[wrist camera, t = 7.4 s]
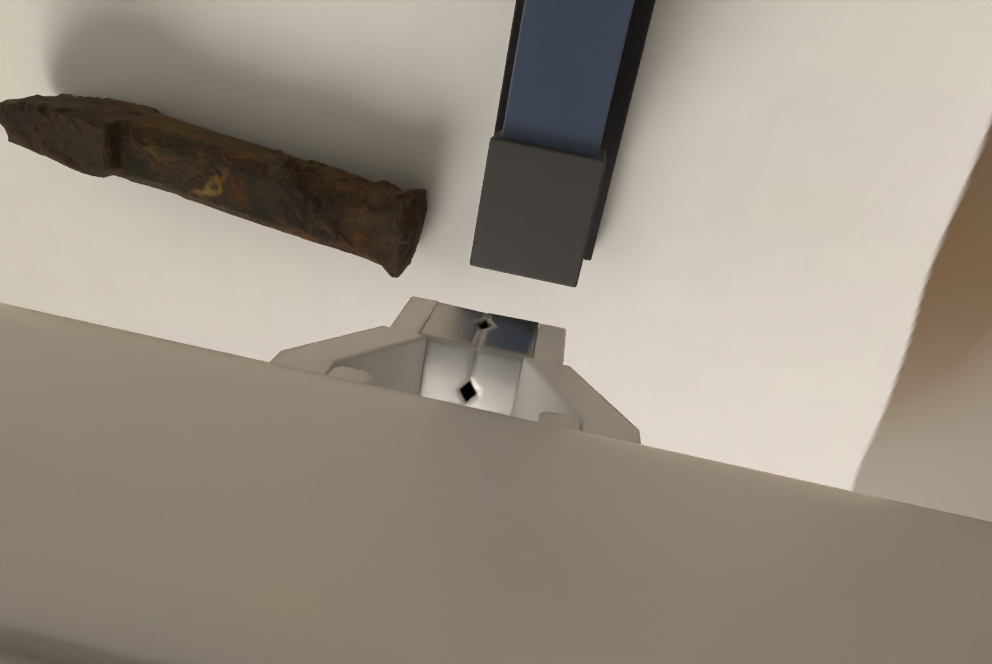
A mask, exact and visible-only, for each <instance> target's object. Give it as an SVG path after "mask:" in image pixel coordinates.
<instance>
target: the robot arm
mask: <svg viewBox="0 0 992 664" xmlns="http://www.w3.org/2000/svg"><path fill="white" fill-rule="evenodd" d="M538 325H539V327H538ZM565 336H566V329H565V328H560V327H555V326H550V325H544V324H539V323H538V322H532V321H527V320H522V319H517V318H511V317H506V316H501V315H496V314H491V313H488V314H487V313H483V312H478V311H474V310H470V309H465V308H461V307H457V306H452V305H448V304H444V303H439V302H438V301H435V300H429V299H424V298H419V297H411V298H410V300H409V301H408V303H407V304H406V305H405V307H404V308H403V310H402V311H401V313H400V314H399V315H398V317H397V318H396V320H395V321H394V322H393V324H392V325H391V327H386V326H380V327H376V328H372V329H368V330H364V331H360V332H356V333H352V334H348V335H344V336H339V337H335V338H331V339H327V340H323V341H319V342H315V343H311V344H307V345H303V346H299V347H294V348H290V349H286V350H282V351H280V352H279V353H278V354H277V355H276V356H275V357H274V358H273V359H272V360H271V361H270V362H265V361H261V360H256V359H251V358H247V357H242V356H238V355H233V354H229V353H224V352H220V351H215V350H211V349H206V348H202V347H197V346H193V345H188V344H184V343H179V342H175V341H170V340H166V339H161V338H157V337H152V336H148V335H143V334H139V333H134V332H130V331H125V330H121V329H116V328H112V327H107V326H103V325H98V324H94V323H89V322H85V321H80V320H76V319H71V318H67V317H62V316H58V315H53V314H49V313H44V312H40V311H35V310H31V309H26V308H22V307H17V306H13V305H8V304H4V303H0V664H992V522H987V521H983V520H979V519H974V518H970V517H965V516H960V515H956V514H951V513H947V512H942V511H938V510H934V509H929V508H924V507H920V506H916V505H911V504H906V503H902V502H897V501H893V500H889V499H884V498H880V497H875V496H871V495H866V494H861V493H857V492H852V491H848V490H843V489H839V488H834V487H830V486H825V485H821V484H816V483H812V482H807V481H803V480H798V479H794V478H789V477H785V476H780V475H776V474H771V473H767V472H762V471H758V470H753V469H749V468H744V467H740V466H735V465H731V464H726V463H722V462H717V461H713V460H708V459H704V458H699V457H695V456H690V455H686V454H681V453H676V452H672V451H667V450H663V449H658V448H654V447H649V446H645V445H641V441H640V433H639V430H638V429H637V428H636V427H635V426H634V425H633V424H632V423H631V422H630V421H629V420H628V419H626V418H625V417H624V416H623V415H622V414H621V413H620V412H619V411H618V410H617V409H616V408H615V407H613V406H612V405H611V404H610V403H609V402H608V401H607V400H606V399H605V398H604V397H603V396H601V395H600V394H599V393H598V392H597V391H596V390H595V389H594V388H593V387H592V386H591V385H589V384H588V383H587V382H586V381H585V380H584V379H583V378H582V377H581V376H580V375H579V374H578V373H576V372H575V371H574V370H573V369H572V368H571V367H570V366H566V365H563V359H564V348H565Z"/></svg>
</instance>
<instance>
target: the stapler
mask: <svg viewBox="0 0 992 664" xmlns="http://www.w3.org/2000/svg"><path fill="white" fill-rule="evenodd" d="M524 2H525V0H516V5H515V11H514V17H513V23H512V29H511V35H510V41H509V47H508V53H507V59H506V65H505V71H504V77H503V83H502V90H501V96H500V102H499V108H498V114H497V120H496V126H495V132H494V135H495V134H496V133H498V132H499V131H500V130H503V124H504V119H505V113H506V107H507V101H508V95H509V89H510V83H511V78H512V72H513V66H514V60H515V54H516V48H517V43H518V37H519V31H520V25H521V19H522V13H523V7H524ZM654 4H655V0H634V5H633V9H632V13H631V17H630V22H629V26H628V30H627V34H626V39H625V43H624V47H623V51H622V56H621V60H620V64H619V68H618V73H617V77H616V81H615V85H614V90H613V94H612V98H611V102H610V107H609V111H608V115H607V119H606V124H605V128H604V132H603V136H602V141H601V145H600V149H601V150H604V151H605V155H606V167H605V171H604V175H603V179H602V183H601V188H600V192H599V196H598V200H597V204H596V208H595V212H594V217H593V221H592V225H591V229H590V233H589V237H588V241H587V245H586V250H585V254H584V258H583V259H585V260H591V258H592V254H593V250H594V246H595V242H596V238H597V234H598V230H599V226H600V221H601V217H602V213H603V209H604V205H605V201H606V197H607V193H608V189H609V185H610V181H611V177H612V173H613V169H614V165H615V161H616V157H617V153H618V149H619V145H620V141H621V137H622V133H623V129H624V125H625V121H626V117H627V113H628V109H629V105H630V101H631V96H632V92H633V88H634V84H635V80H636V76H637V72H638V68H639V64H640V60H641V56H642V52H643V48H644V44H645V40H646V36H647V32H648V28H649V24H650V20H651V16H652V12H653V8H654Z"/></svg>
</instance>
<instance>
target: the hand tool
mask: <svg viewBox="0 0 992 664" xmlns="http://www.w3.org/2000/svg"><path fill="white" fill-rule="evenodd" d="M0 124H1V125H2V126H3V127H4V128H5V130H6V132H7V135H8V138H9V139H8V141H9V142H12V143H15V144H17V145H20V146H22V147H25V148H27V149H29V150H31V151H34V152H36V153H38V154H40V155H44V156H47V157H49V158H51V159H53V160H55V161H57V162H59V163H61V164H63V165H65V166H67V167H69V168H71V169H74V170H76V171H79V172H81V173H84V174H88V175H92V176H97V177H103V178H104V177H108V176H111V175H115V176H119V177H122V178H125V179H128V180H130V181H132V182H136V183H139V184H144V185H147V186H151V187H154V188H157V189H161V190H164V191H167V192H171V193H174V194H177V195H180V196H181V197H183V198H185V199H188V200H192V201H195V202H198V203H201V204H204V205H207V206H209V207H212V208H215V209H217V210H220V211H223V212H226V213H228V214H231V215H234V216H237V217H240V218H243V219H246V220H249V221H252V222H255V223H258V224H261V225H263V226H267V227H271V228H274V229H277V230H279V231H282V232H285V233H288V234H291V235H295V236H298V237H301V238H303V239H306V240H309V241H312V242H315V243H319V244H322V245H326V246H329V247H333V248H336V249H339V250H341V251H344V252H348V253H352V254H354V255H357V256H360V257H363V258H366V259H368V260H370V261H373V262H375V263H377V264H379V265H382V266H383V268H384V269H385V270H386V271H387V272H388V273H389V275H390V276H392V277H397V278H398V277H399V276H400V275H401V274H402V273H403V271H404V270H405V269H406V267H407V266H408V265H409V264H410V263H411V260H412V258H413V255H414V253H415V251H416V247H417V244H418V242H419V238H420V234H421V231H422V228H423V224H424V219H425V214H426V211H427V208H426V206H427V201H426V193H427V192H426V190H424V189H410V190H405V191H402V190H401V189H399V188H398V187H397V186H396V185H394V184H391V183H390V182H388V181H385V180H382V181H379V182H371V181H369V180H366V179H364V178H362V177H359V176H356V175H353V174H349V173H347V172H346V171H344V170H342V169H339V168H335V167H330V166H327V165H325V164H323V163H320V162H316V161H312V160H309V162H308V161H304V160H301V159H298V158H295V157H292V156H290V155H287V154H285V153H283V152H282V151H279V150H273V149H269V148H266V147H263V146H259V145H256V144H252V143H249V142H246V141H242V140H239V139H236V138H233V137H229V136H226V135H223V134H220V133H216V132H214V131H211V130H208V129H205V128H201V127H198V126H195V125H191V124H187V123H185V122H182V121H179V120H176V119H173V118H169V117H166V116H163V115H161V114H160V113H159V112H158V111H157V109H154V108H151V107H147V106H143V105H138V104H134V103H129V102H124V101H119V100H114V99H110V98H105V99H102V98H97V97H96V98H93V97H82V96H79V97H74V96H73V95H71V94H60V95H58V96H40V95H35V96H30V97H26V98H21V99H10V100H5V101H3V102H1V103H0Z"/></svg>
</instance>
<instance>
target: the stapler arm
mask: <svg viewBox="0 0 992 664" xmlns="http://www.w3.org/2000/svg"><path fill="white" fill-rule="evenodd" d="M633 5H634V0H525V2H524V7H523V13H522V19H521V25H520V31H519V37H518V43H517V48H516V54H515V60H514V66H513V72H512V78H511V83H510V89H509V95H508V101H507V107H506V113H505V119H504V124H503V130H500V131H499V132H498V133H496V134H495V135H494V136H493V137H492V138H491V139H490V143H489V150H488V156H487V162H486V168H485V174H484V180H483V186H482V192H481V198H480V204H479V210H478V217H477V223H476V229H475V235H474V241H473V247H472V253H471V259H470V265H472V266H476V267H481V268H485V269H490V270H495V271H500V272H504V273H509V274H514V275H518V276H523V277H528V278H532V279H537V280H542V281H547V282H551V283H556V284H561V285H565V286H570V287H576V286H577V283H578V279H579V274H580V270H581V266H582V262H583V258H584V254H585V250H586V245H587V241H588V237H589V233H590V229H591V225H592V221H593V217H594V212H595V208H596V204H597V200H598V196H599V192H600V188H601V183H602V179H603V175H604V171H605V167H606V155H605V151H604V150H601V149H600V145H601V141H602V136H603V132H604V128H605V124H606V119H607V115H608V111H609V107H610V102H611V98H612V94H613V90H614V85H615V81H616V77H617V73H618V68H619V64H620V60H621V56H622V51H623V47H624V43H625V39H626V34H627V30H628V26H629V22H630V17H631V13H632V9H633Z"/></svg>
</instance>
